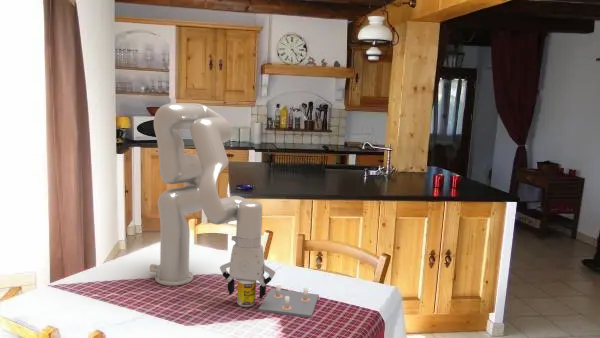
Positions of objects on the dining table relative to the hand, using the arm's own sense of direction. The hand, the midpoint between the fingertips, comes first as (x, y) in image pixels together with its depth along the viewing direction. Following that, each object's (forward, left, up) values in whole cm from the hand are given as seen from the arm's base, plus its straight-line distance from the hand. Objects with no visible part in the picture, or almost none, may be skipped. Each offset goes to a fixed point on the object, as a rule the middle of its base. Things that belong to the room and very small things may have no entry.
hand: (246, 295), depth 154 cm
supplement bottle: (0, 0, -3) cm, 3 cm away
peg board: (+13, +4, -3) cm, 14 cm away
